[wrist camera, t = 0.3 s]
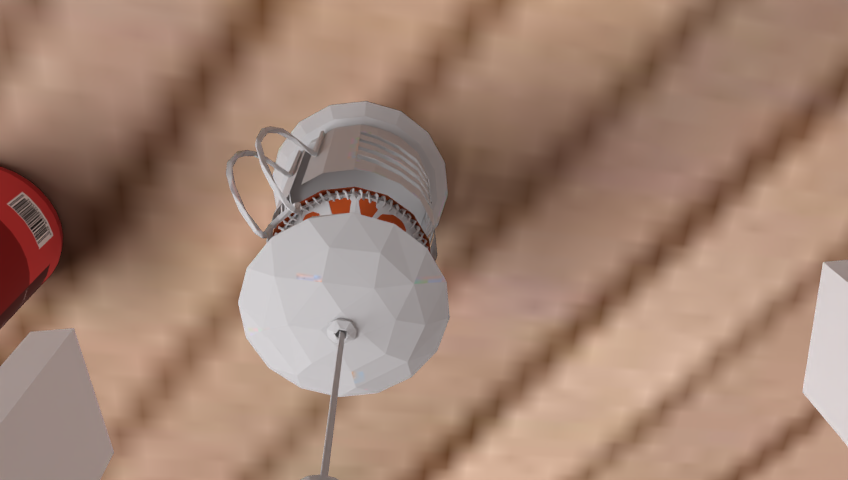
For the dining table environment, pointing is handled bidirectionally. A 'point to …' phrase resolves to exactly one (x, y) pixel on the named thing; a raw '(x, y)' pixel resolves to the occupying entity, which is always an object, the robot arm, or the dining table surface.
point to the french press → (347, 254)
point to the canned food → (25, 241)
